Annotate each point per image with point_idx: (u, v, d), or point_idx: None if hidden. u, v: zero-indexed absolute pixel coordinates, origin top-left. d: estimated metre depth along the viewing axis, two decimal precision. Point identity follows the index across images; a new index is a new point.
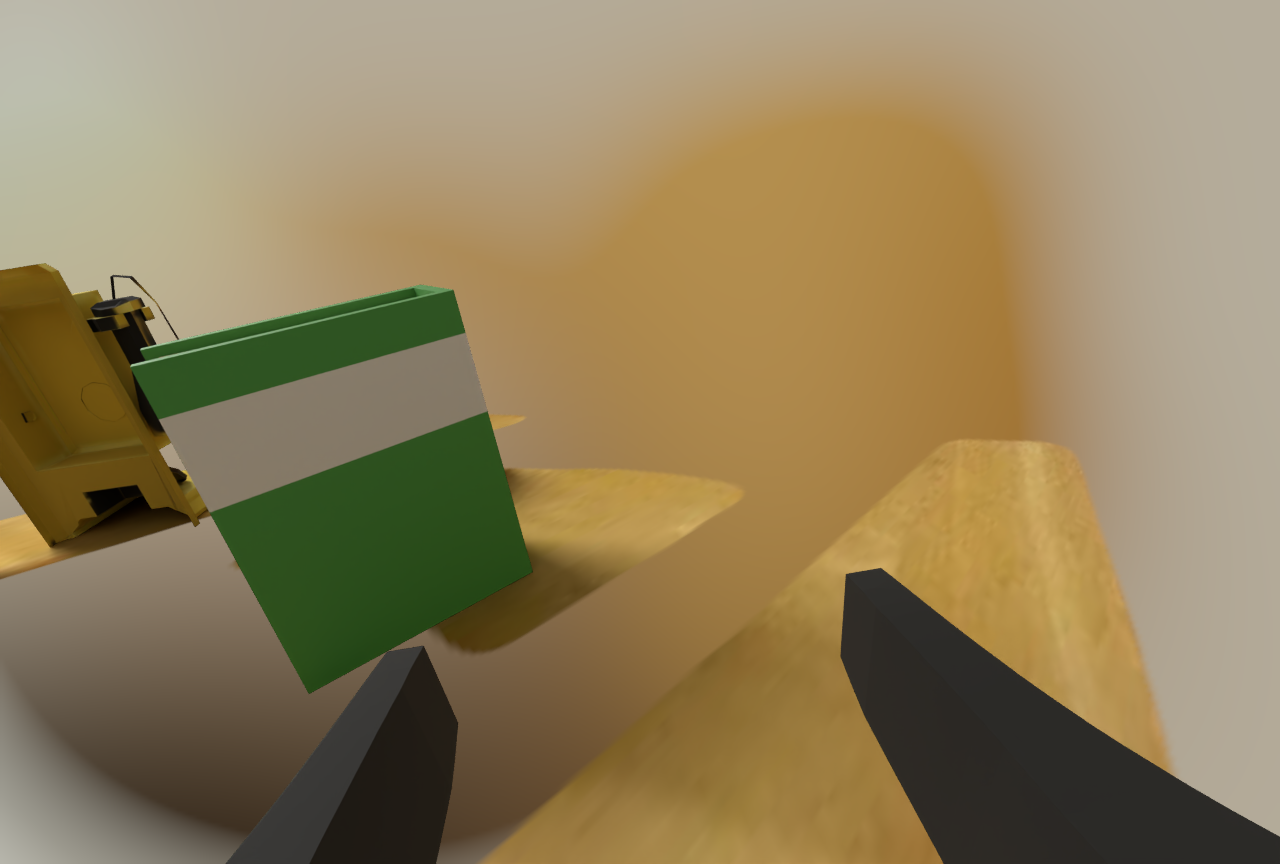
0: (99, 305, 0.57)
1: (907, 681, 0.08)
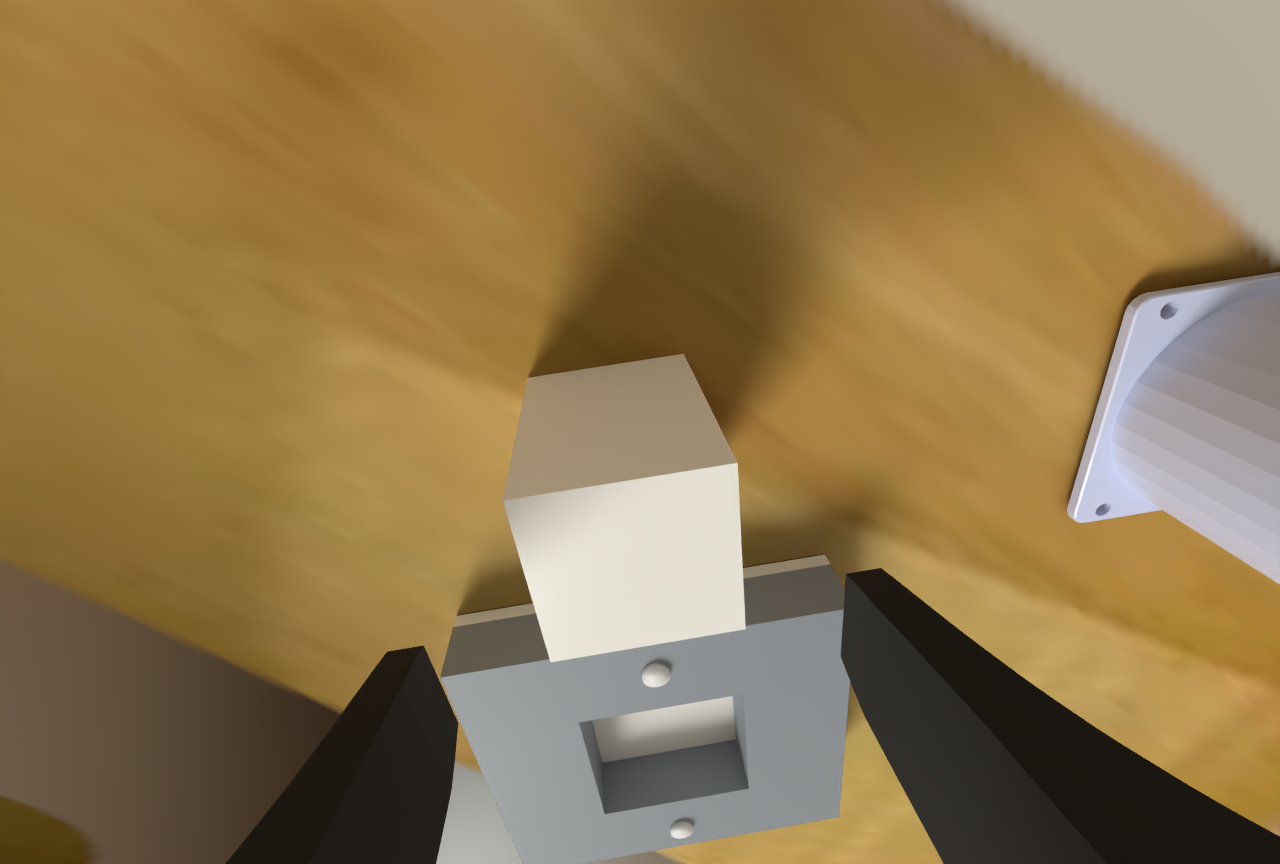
0: None
1: (908, 681, 0.08)
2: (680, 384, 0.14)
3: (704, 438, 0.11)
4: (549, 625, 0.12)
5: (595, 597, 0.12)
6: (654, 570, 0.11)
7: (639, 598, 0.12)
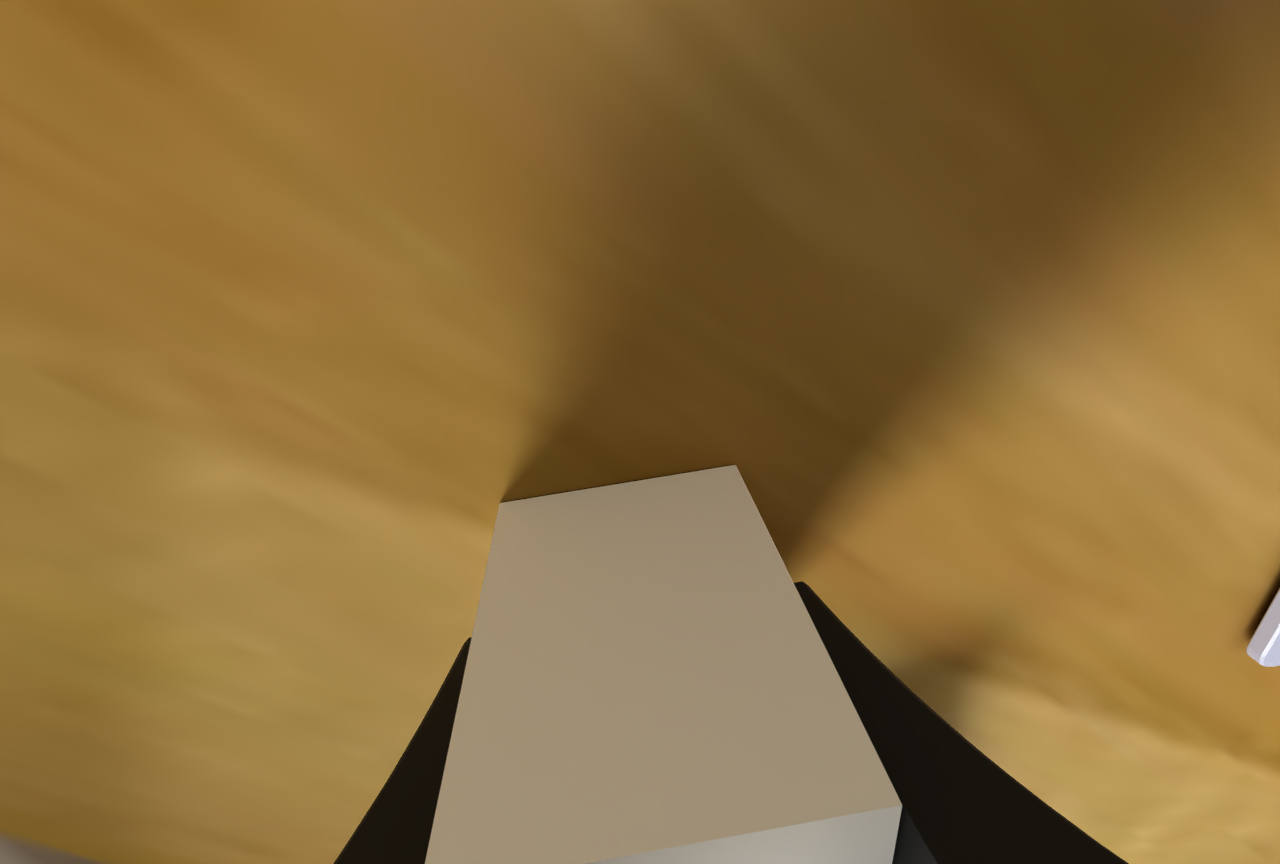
0: None
1: None
2: (742, 539, 0.09)
3: (813, 705, 0.06)
4: None
5: None
6: None
7: None
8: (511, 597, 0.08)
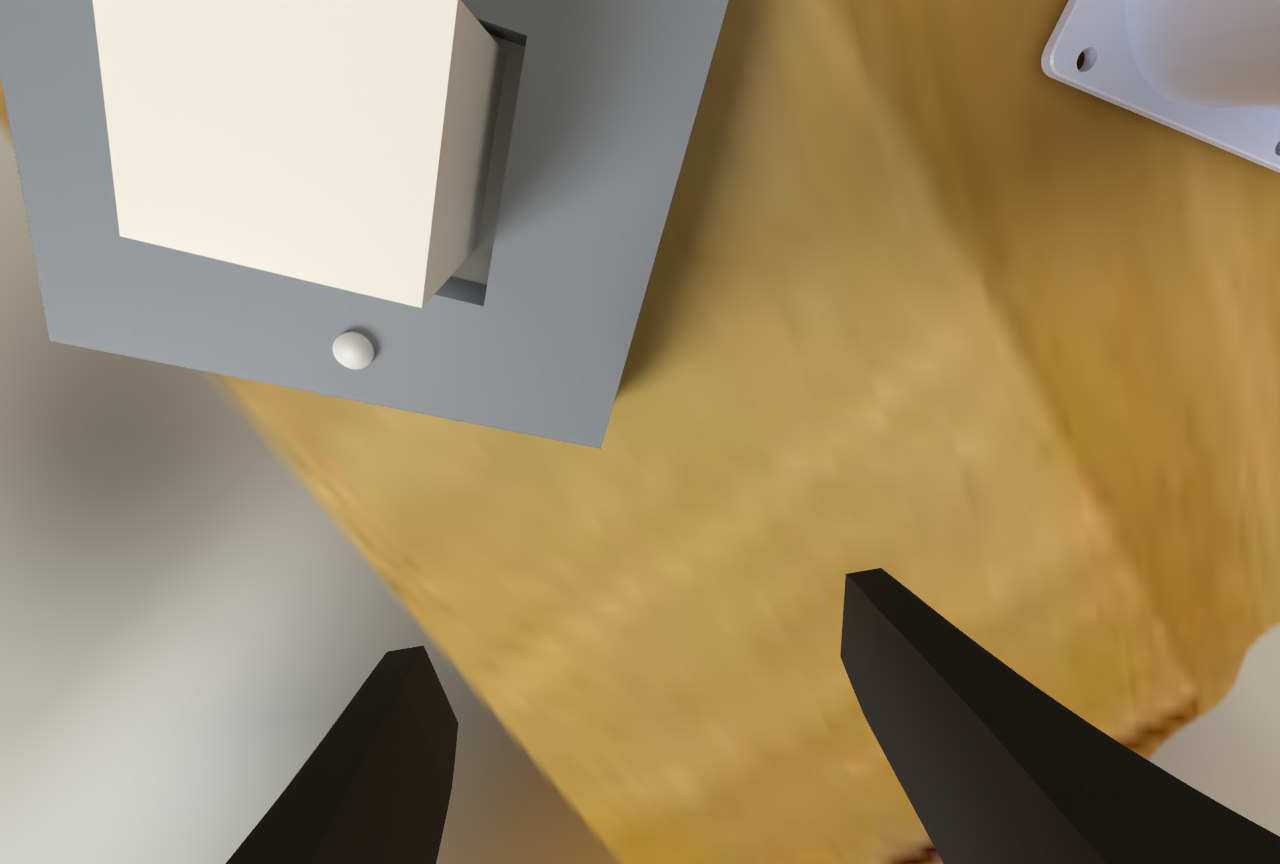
0: None
1: (908, 682, 0.08)
2: None
3: None
4: (126, 162, 0.08)
5: (209, 141, 0.08)
6: (307, 135, 0.08)
7: (277, 178, 0.08)
8: None
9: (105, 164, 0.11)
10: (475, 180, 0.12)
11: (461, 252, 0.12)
